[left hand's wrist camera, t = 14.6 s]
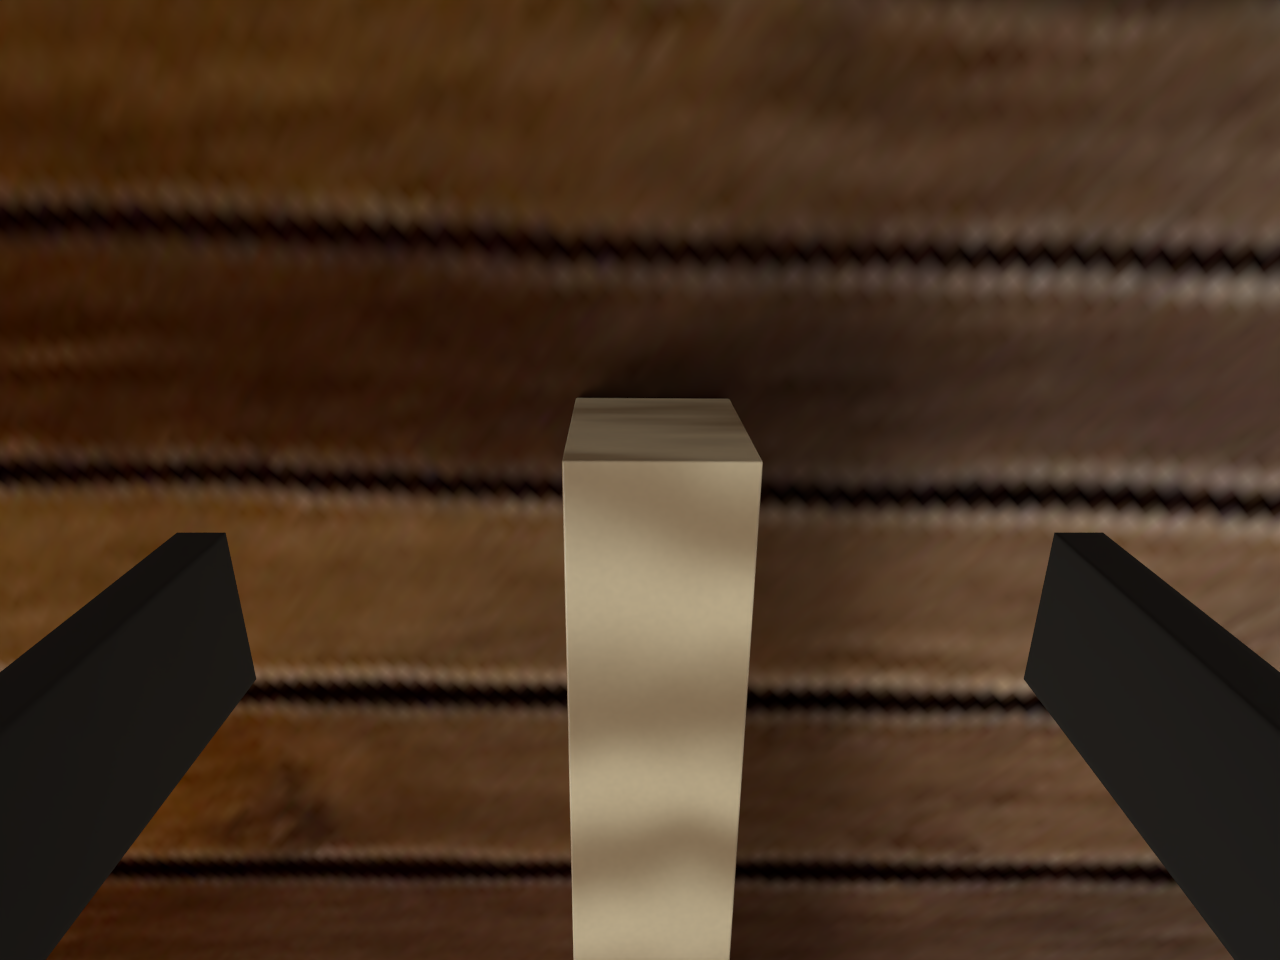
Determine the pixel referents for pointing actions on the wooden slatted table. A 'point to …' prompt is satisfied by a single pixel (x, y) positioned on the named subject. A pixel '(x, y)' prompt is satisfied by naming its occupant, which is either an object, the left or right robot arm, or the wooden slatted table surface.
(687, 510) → the birch plank
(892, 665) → the wooden slatted table surface
